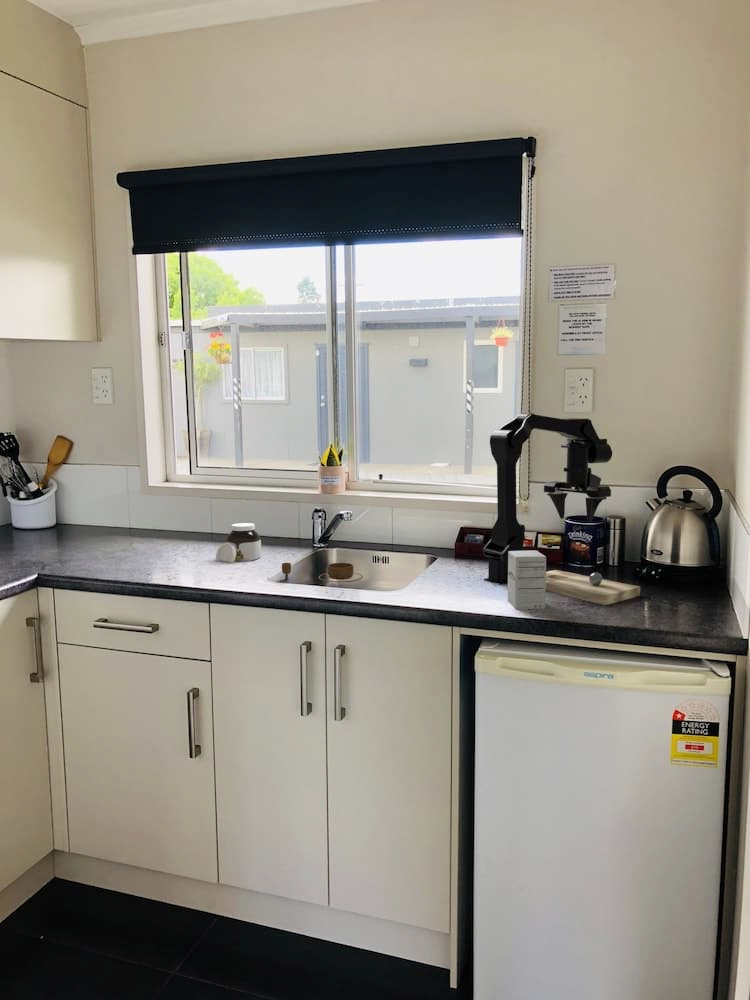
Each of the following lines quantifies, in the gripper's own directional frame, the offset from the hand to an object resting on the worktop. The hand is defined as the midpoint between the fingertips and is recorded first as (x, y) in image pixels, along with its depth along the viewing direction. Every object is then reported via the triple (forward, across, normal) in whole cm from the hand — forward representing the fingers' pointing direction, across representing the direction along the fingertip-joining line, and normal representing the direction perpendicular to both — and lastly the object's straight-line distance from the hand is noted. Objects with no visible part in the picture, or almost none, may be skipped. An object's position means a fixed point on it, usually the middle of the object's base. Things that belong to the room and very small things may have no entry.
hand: (575, 520), depth 229 cm
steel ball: (+11, -20, +18) cm, 29 cm away
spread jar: (+16, +72, +64) cm, 98 cm away
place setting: (+16, +38, +57) cm, 71 cm away
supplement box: (+15, -15, +39) cm, 45 cm away
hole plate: (+15, -15, +18) cm, 27 cm away
